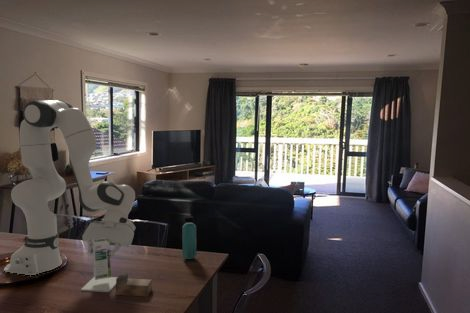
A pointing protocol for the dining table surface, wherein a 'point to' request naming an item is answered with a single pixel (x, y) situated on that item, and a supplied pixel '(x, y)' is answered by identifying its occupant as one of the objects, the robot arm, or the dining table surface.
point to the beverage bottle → (189, 238)
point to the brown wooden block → (132, 286)
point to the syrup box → (101, 258)
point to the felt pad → (100, 285)
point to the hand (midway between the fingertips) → (100, 254)
